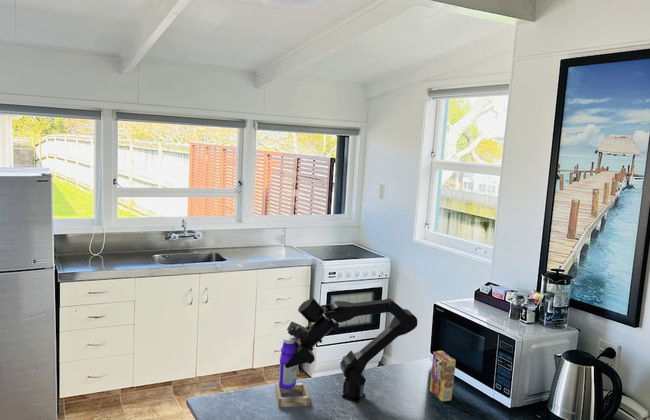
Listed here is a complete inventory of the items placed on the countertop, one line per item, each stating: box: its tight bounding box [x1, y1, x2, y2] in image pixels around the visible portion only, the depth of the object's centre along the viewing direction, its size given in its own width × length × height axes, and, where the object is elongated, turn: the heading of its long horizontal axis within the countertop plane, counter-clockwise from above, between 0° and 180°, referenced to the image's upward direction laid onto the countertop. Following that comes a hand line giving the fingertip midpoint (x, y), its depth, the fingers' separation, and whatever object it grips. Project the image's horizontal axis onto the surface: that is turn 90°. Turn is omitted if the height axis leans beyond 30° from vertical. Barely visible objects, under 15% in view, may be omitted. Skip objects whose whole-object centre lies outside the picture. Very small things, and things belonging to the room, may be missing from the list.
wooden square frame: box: [274, 382, 311, 408], centre depth 192 cm, size 11×11×3 cm
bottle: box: [278, 335, 298, 389], centre depth 190 cm, size 7×6×17 cm
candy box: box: [429, 350, 457, 402], centre depth 200 cm, size 9×4×15 cm, turn 20°
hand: (284, 362), depth 190 cm, fingers closed on bottle, 7 cm apart
